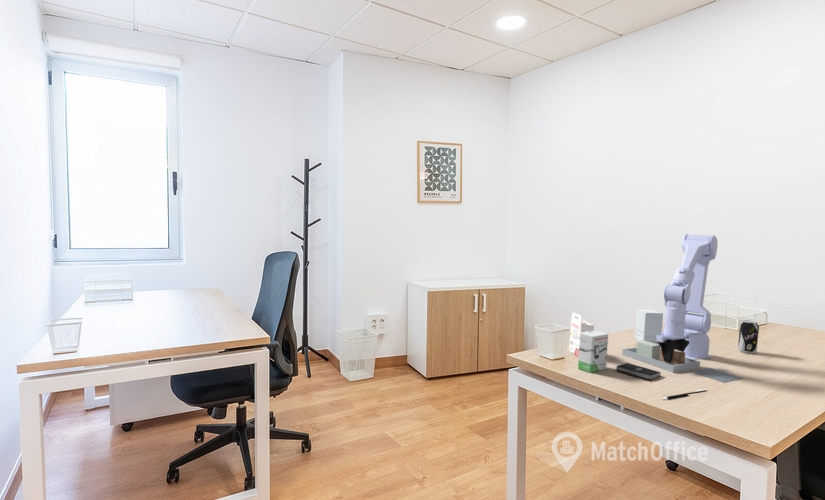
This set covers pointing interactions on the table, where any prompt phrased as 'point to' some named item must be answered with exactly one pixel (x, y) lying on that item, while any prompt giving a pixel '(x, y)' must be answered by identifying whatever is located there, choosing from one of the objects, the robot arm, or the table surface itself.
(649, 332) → the supplement box
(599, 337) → the ink box
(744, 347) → the beverage can
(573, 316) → the ink cartridge box
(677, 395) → the pen
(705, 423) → the table surface
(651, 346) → the sage block
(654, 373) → the external hard drive
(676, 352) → the labelled block
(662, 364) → the grey bin
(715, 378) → the slate mat
